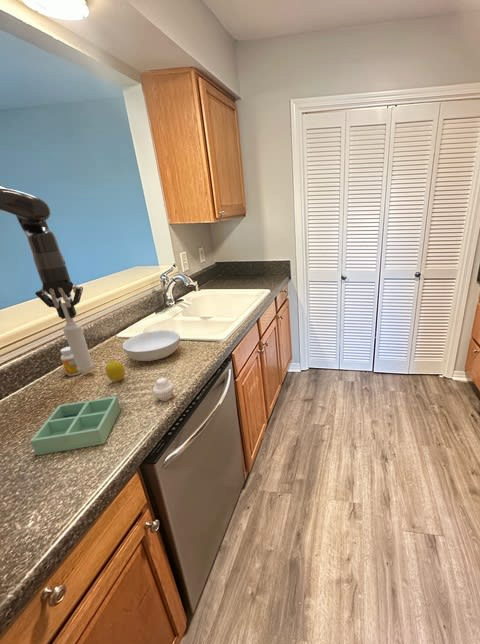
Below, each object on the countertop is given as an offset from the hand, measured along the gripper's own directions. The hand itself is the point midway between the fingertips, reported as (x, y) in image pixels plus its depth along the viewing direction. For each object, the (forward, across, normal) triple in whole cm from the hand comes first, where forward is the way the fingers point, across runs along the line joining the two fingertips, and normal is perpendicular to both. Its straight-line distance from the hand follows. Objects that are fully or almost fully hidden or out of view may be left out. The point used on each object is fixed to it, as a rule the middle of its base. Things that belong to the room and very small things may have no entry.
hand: (68, 317), depth 108 cm
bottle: (+20, 0, 0) cm, 20 cm away
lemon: (+22, +12, -8) cm, 27 cm away
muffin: (+22, +30, -24) cm, 45 cm away
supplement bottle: (+22, -6, +4) cm, 24 cm away
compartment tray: (+22, +10, -34) cm, 42 cm away
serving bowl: (+22, +21, +10) cm, 32 cm away
